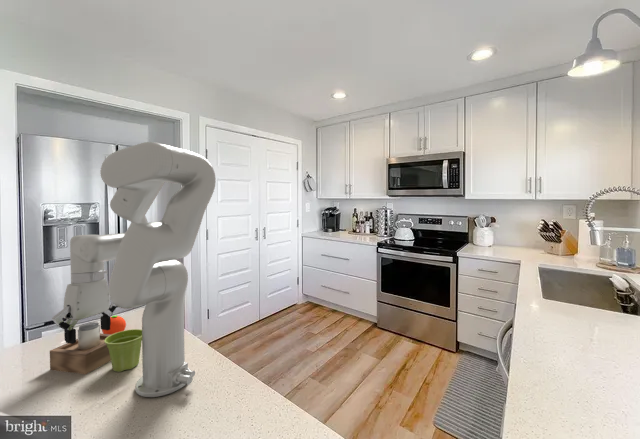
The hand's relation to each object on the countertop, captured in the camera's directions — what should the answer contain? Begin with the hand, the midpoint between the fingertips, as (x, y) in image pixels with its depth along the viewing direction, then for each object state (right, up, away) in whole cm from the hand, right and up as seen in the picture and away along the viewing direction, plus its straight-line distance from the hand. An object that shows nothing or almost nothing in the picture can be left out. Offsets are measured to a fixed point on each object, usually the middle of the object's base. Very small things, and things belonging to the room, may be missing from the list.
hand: (89, 335), depth 83 cm
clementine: (-5, -7, +18) cm, 20 cm away
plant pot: (+13, -8, -3) cm, 15 cm away
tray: (0, -8, 0) cm, 8 cm away
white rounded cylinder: (0, -3, 0) cm, 3 cm away
